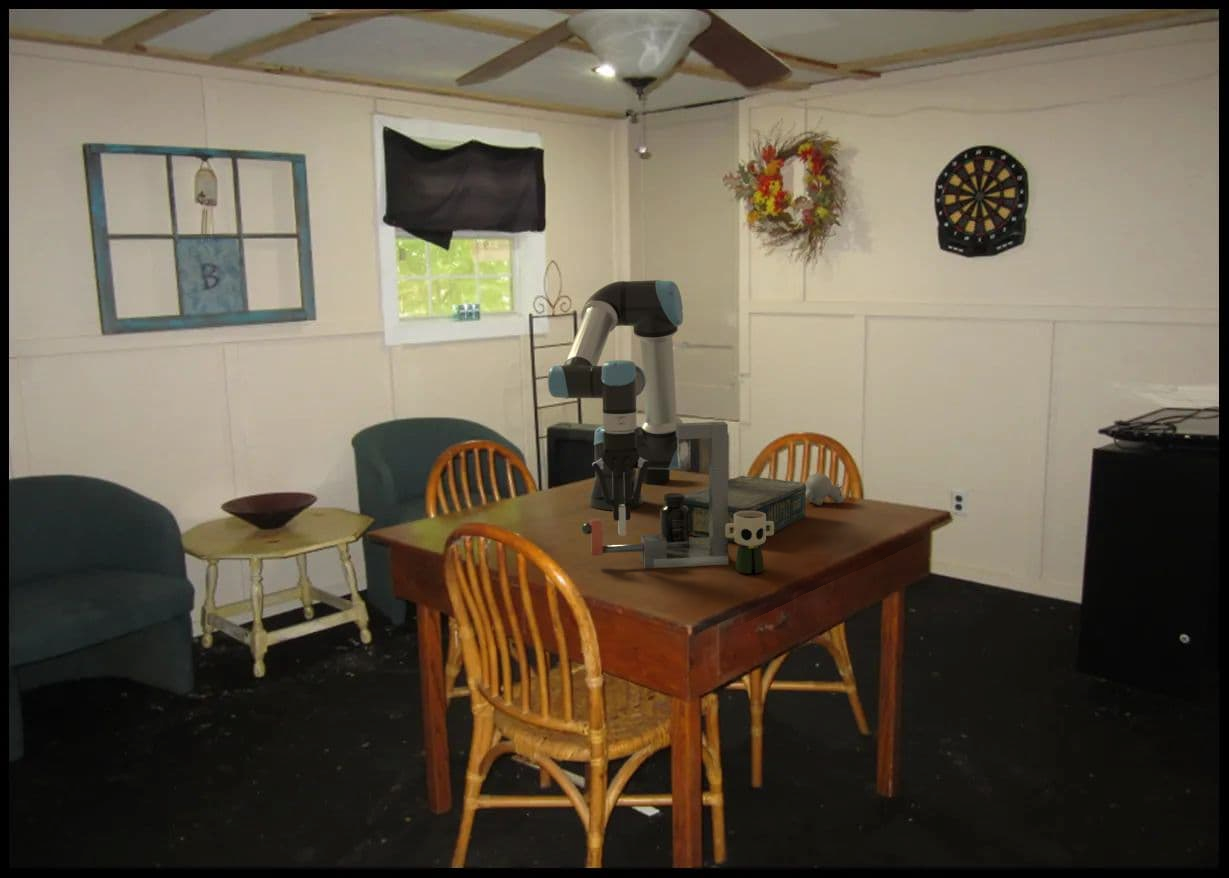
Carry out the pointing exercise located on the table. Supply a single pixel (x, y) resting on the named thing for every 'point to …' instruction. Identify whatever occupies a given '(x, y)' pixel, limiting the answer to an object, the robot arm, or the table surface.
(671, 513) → the supplement bottle
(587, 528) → the lever
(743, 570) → the character mug
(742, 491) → the metal box
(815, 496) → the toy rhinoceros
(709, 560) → the press
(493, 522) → the table surface
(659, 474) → the pen holder
